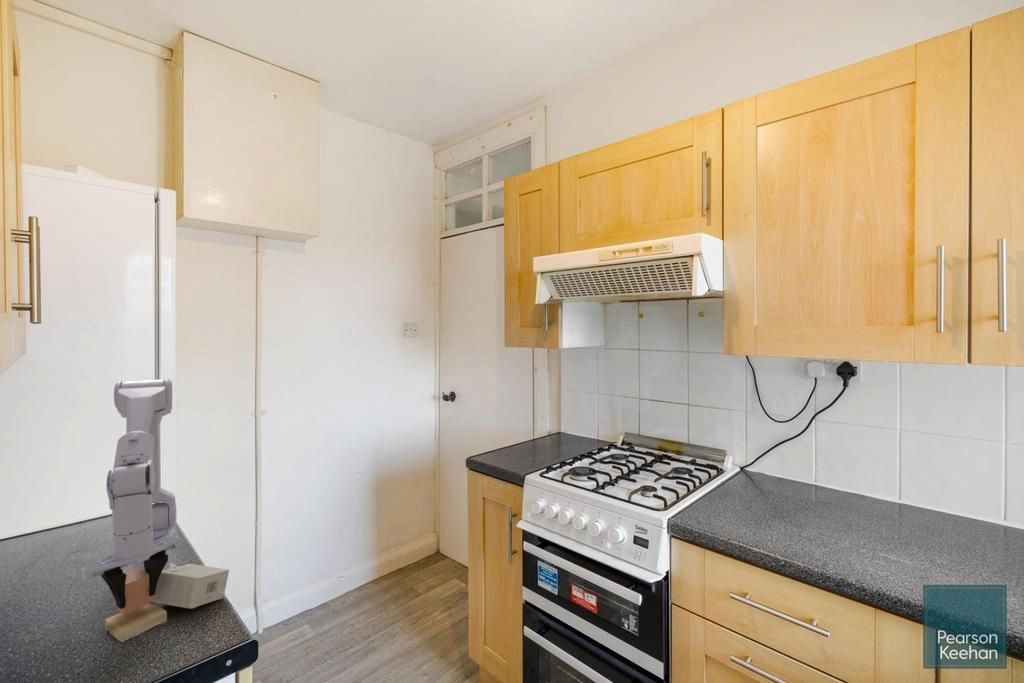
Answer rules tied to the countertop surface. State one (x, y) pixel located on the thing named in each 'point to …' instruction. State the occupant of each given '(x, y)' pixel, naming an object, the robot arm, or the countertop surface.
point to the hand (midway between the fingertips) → (135, 600)
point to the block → (135, 590)
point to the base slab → (135, 621)
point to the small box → (190, 586)
